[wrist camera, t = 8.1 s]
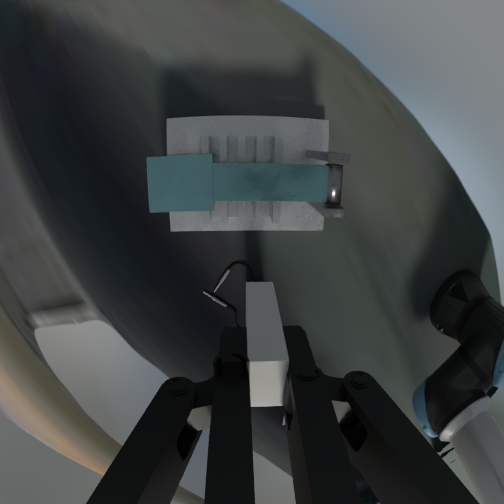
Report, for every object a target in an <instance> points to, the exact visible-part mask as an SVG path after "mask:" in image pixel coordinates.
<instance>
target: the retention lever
mask: <svg viewBox="0 0 504 504" xmlns="http://www.w3.org/2000/svg"><path fill="white" fill-rule="evenodd" d="M342 174H343V165H339V164H328V163H325V165H314V164H294V163H257V162H226V163H214V154H186V155H169V156H155V157H147V178H148V195H149V209H150V212H181V211H213V210H214V201H298V202H323V203H324V204H328V205H340V202H341V189H342Z"/></svg>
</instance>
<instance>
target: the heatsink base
mask: <svg viewBox="0 0 504 504" xmlns="http://www.w3.org/2000/svg"><path fill="white" fill-rule="evenodd" d="M328 140H329V120H320V119H309V118H296V117H280V116H198V117H181V118H169V119H167V154H165V155H159V156H169V155H186V154H214V163H226V162H257V163H294V164H314V165H325V163H328V162H336V163H348V164H349V159H350V154H343V153H335V152H328ZM153 157H155V156H153ZM345 213H346V209H345V208H343V207H342V206H340V205H328V204H324V203H323V202H298V201H214V210H213V211H181V212H170V225H171V231H224V230H323V225H324V218H345Z"/></svg>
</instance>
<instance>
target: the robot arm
mask: <svg viewBox="0 0 504 504" xmlns="http://www.w3.org/2000/svg"><path fill="white" fill-rule="evenodd" d="M430 320H431V323H432V325H433V326H434V327H435V328H436V329H437V330H438V331H439V332H440V333H442V334H444V335H447V336H449V337H451V338H453V339H456V340H457V341H458V342H459V343H460V344H461V345H460V346H459V348H458V349H457V350H456V351H455V352H454V353H453V354H452V355H451V356H450V357H449V358H448V359H447V360H446V361H445V362H444V363H443V364H442V365H441V366H440V367H439V368H438V369H437V370H436V371H435V372H434V373H433V374H432V375H431V376H429V377H427V378H426V379H425V381H424V382H423V383H422V384H421V385H420V386H419V387H418V388H417V389H416V390H415V392H414V394H413V397H412V404H413V409H414V412H415V415H416V417H417V419H418V422H419V423H420V425H421V426H422V427H423V430H424V431H425V433H426V434H427V435H429V436H430V437H437V436H438V437H439V439H440V440H441V441H449V442H451V443H452V445H453V447H454V449H455V450H456V452H457V454H458V456H459V458H460V460H461V461H462V463H463V466H464V467H465V470H466V471H467V473H468V475H469V477H470V480H471V481H472V484H473V486H474V488H475V490H476V492H477V494H478V496H479V498H480V501H481V503H482V504H504V434H503V432H502V431H501V429H500V428H499V426H498V425H497V423H496V422H495V420H494V419H493V417H492V416H491V414H490V413H489V411H488V408H489V404H490V398H489V397H488V395H487V394H486V392H487V391H488V390H489V389H490V388H491V387H492V386H493V385H494V386H495V387H502V386H503V385H504V306H502V305H501V304H500V303H499V302H497V301H496V300H495V299H494V298H492V297H491V296H490V295H489V293H488V291H487V290H486V288H485V286H484V285H483V283H482V281H481V280H480V278H479V277H478V276H477V275H476V274H474V273H473V272H472V271H470V270H461V271H458V272H456V273H455V274H453V275H452V276H451V277H449V278H448V279H447V280H446V281H445V282H444V284H443V285H442V286H441V287H440V289H439V290H438V292H437V294H436V296H435V298H434V300H433V303H432V306H431V310H430ZM467 364H468V365H467ZM213 365H214V376H213V377H212V378H210V379H208V380H206V381H203V382H198V383H193V382H192V381H191V380H190V379H187V378H185V377H174V378H170V379H168V380H166V381H165V382H164V383H163V384H162V386H161V387H160V389H159V390H158V392H157V393H156V395H155V396H154V398H153V400H152V401H151V403H150V404H149V406H148V407H147V409H146V411H145V413H144V414H143V415H142V417H141V418H140V420H139V421H138V423H137V425H136V426H135V428H134V429H133V431H132V432H131V434H130V436H129V437H128V439H127V440H126V442H125V443H124V445H123V446H122V448H121V450H120V451H119V453H118V454H117V456H116V457H115V459H114V461H113V462H112V464H111V465H110V467H109V468H108V470H107V472H106V473H105V475H104V476H103V478H102V479H101V481H100V483H99V484H98V486H97V487H96V489H95V490H94V492H93V494H92V495H91V497H90V498H89V500H88V502H87V503H86V504H170V502H171V500H172V498H173V496H174V494H175V491H176V489H177V487H178V485H179V483H180V480H181V478H182V476H183V474H184V472H185V469H186V467H187V465H188V463H189V460H190V458H191V456H192V454H193V451H194V449H195V447H196V444H197V442H198V440H199V438H200V435H201V433H202V430H203V429H208V428H210V434H209V447H208V459H207V472H206V487H205V502H204V504H255V495H254V472H253V449H252V425H251V407H258V406H283V403H285V412H284V418H283V425H286V433H287V440H288V447H289V454H290V462H291V469H292V477H293V484H294V491H295V499H296V504H361V500H360V497H359V493H358V489H357V485H356V482H355V478H354V475H353V471H352V467H351V464H350V460H349V457H348V453H349V455H350V456H351V458H352V459H353V461H354V462H355V464H356V466H357V467H358V469H359V470H360V472H361V473H362V475H363V477H364V478H365V480H366V481H367V483H368V484H369V486H370V487H371V489H372V491H373V492H374V494H375V495H376V497H377V498H378V500H379V501H380V503H381V504H479V503H478V502H477V500H476V499H475V498H474V497H473V495H472V494H471V493H470V492H469V490H468V489H467V488H466V487H465V486H464V485H463V483H462V482H461V481H460V480H459V478H458V477H457V476H456V475H455V474H454V472H453V471H452V470H451V469H450V468H449V466H448V465H447V464H446V463H445V462H444V461H443V459H442V458H441V457H440V456H439V454H438V453H437V452H436V451H435V450H434V448H433V447H432V446H431V445H430V444H429V443H428V441H427V440H426V439H425V438H424V437H423V435H422V434H421V433H420V432H419V431H418V429H417V428H416V427H415V426H414V425H413V424H412V422H411V421H410V420H409V419H408V418H407V417H406V415H405V414H404V413H403V412H402V411H401V409H400V408H399V407H398V406H397V405H396V404H395V402H394V401H393V400H392V399H391V398H390V397H389V395H388V394H387V393H386V392H385V391H384V390H383V388H382V387H381V386H380V385H379V384H378V383H377V381H376V380H375V379H374V378H373V377H372V376H371V375H370V374H368V373H366V372H363V371H352V372H350V373H348V374H346V375H345V377H344V378H336V377H330V376H327V375H325V374H323V372H322V371H321V369H319V368H318V367H317V366H316V364H315V361H314V358H313V355H312V351H311V348H310V346H309V342H308V340H307V335H306V332H305V331H304V330H303V329H302V328H301V327H300V326H282V323H281V319H280V314H279V309H278V304H277V300H276V295H275V290H274V285H273V282H246V327H226V328H225V329H224V330H223V332H222V333H221V338H220V348H219V354H218V355H217V356H216V357H215V359H214V361H213ZM471 369H472V370H471ZM475 374H476V375H475ZM347 451H348V453H347Z"/></svg>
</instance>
